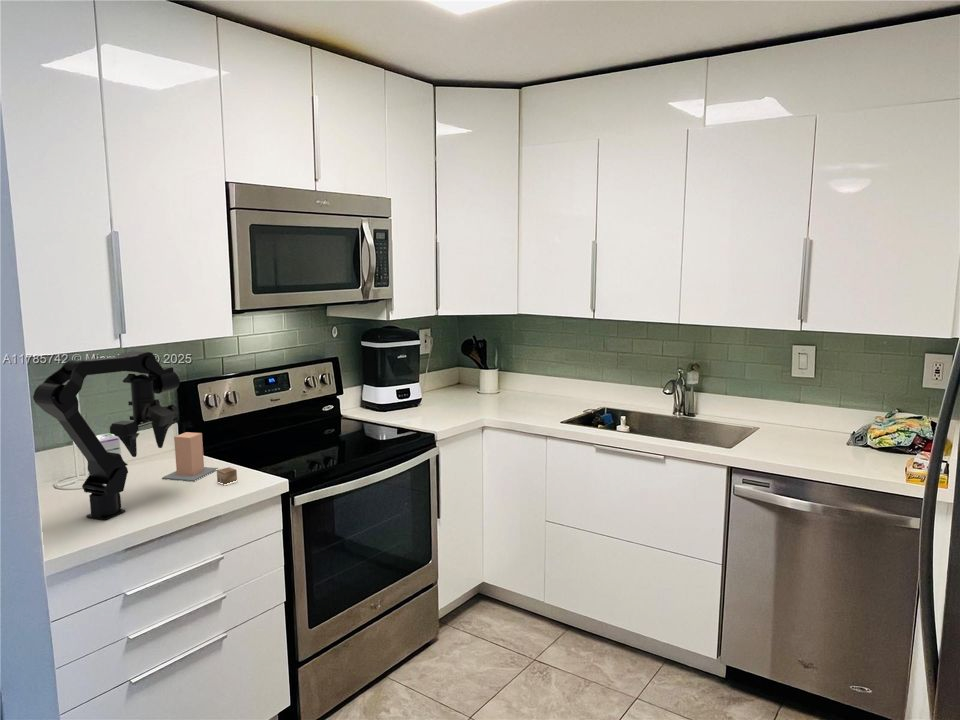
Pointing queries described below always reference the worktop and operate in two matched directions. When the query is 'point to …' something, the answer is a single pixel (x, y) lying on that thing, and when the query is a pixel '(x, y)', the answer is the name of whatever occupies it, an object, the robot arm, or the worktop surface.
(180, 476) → the rubber mat
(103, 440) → the syrup box
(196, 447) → the salmon pink pillar
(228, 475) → the letter cube
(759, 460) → the worktop surface
